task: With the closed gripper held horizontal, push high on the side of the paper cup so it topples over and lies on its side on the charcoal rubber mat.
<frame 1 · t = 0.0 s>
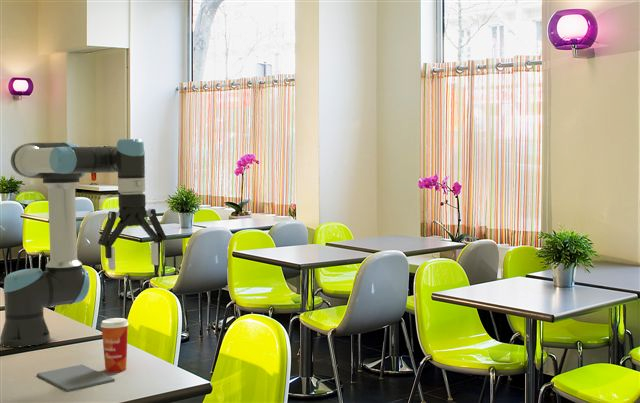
hand: (133, 267, 221), 28 cm above the table, tool pointing down, fingers open, 13 cm apart
mat: (75, 378, 209), on the table
paper cup: (116, 370, 217), on the table
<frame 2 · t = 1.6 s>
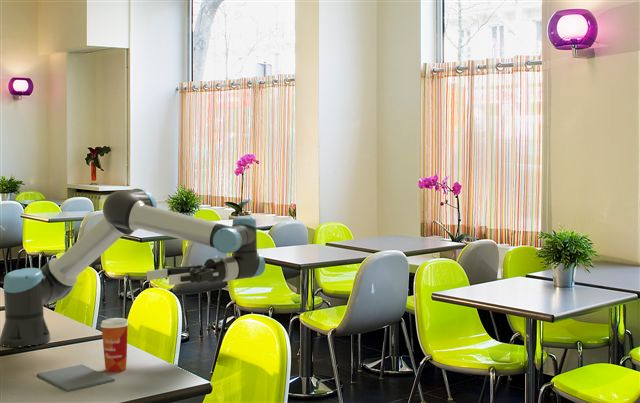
hand: (158, 277, 225), 24 cm above the table, tool horizontal, fingers open, 12 cm apart
nothing on the table moved.
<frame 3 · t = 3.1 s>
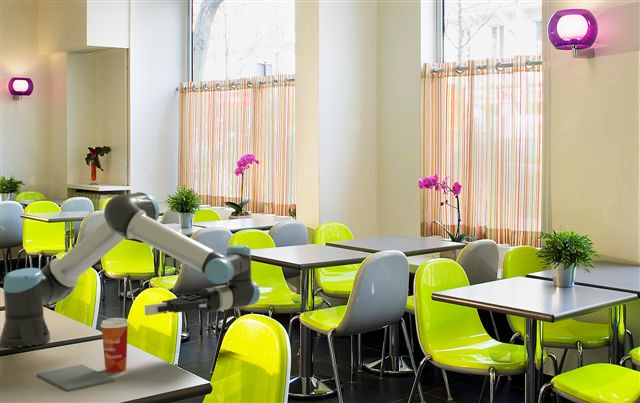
hand: (146, 310, 222), 15 cm above the table, tool horizontal, fingers closed
nothing on the table moved.
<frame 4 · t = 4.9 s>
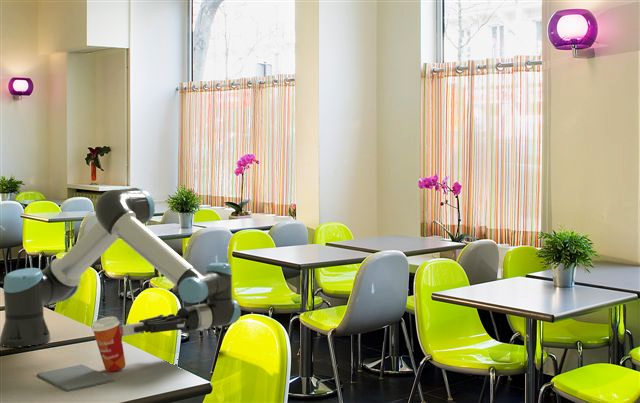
hand: (122, 330, 217), 11 cm above the table, tool horizontal, fingers closed
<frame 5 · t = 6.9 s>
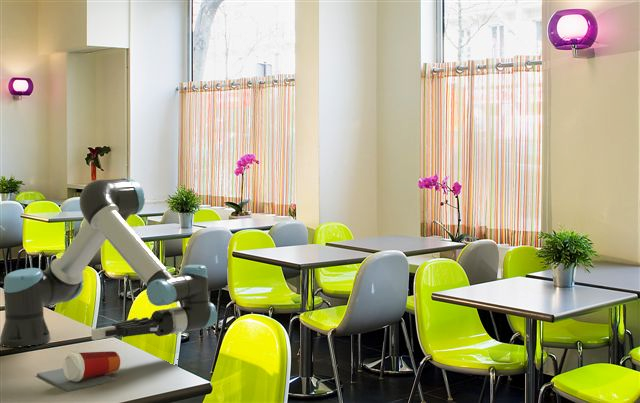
hand: (92, 334, 212), 11 cm above the table, tool horizontal, fingers closed
paper cup: (114, 361, 213), point 3 cm above the table, touching mat
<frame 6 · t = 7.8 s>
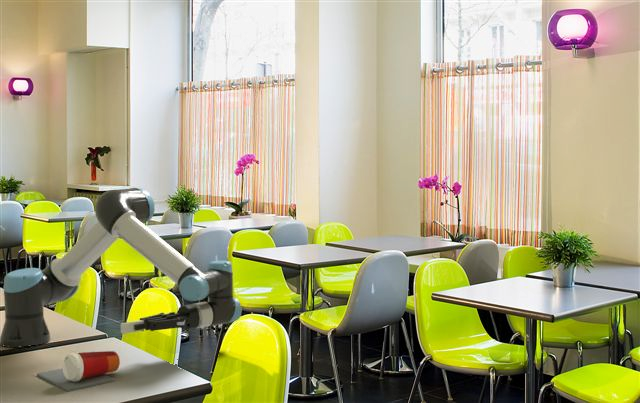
hand: (121, 328, 217), 11 cm above the table, tool horizontal, fingers closed
nothing on the table moved.
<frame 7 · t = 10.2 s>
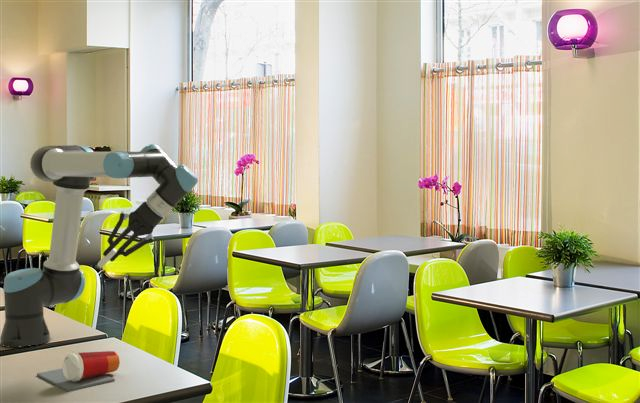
hand: (99, 265, 229), 28 cm above the table, tool tilted 45°, fingers closed
nothing on the table moved.
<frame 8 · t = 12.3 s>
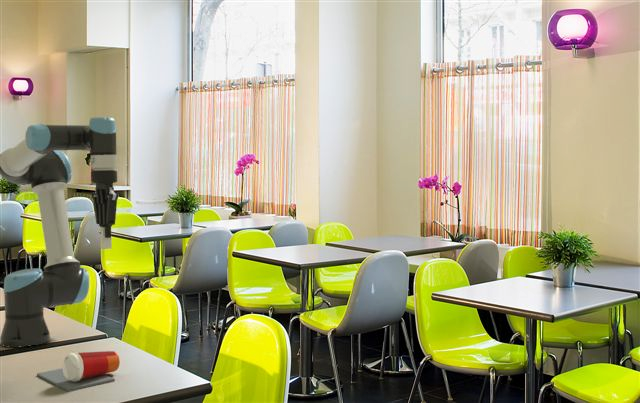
hand: (106, 248, 231), 32 cm above the table, tool pointing down, fingers closed
nothing on the table moved.
at the end: paper cup tilted 84°; paper cup touching mat; paper cup inside the target area (5.2 cm from its centre), point 3.2 cm above the table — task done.
